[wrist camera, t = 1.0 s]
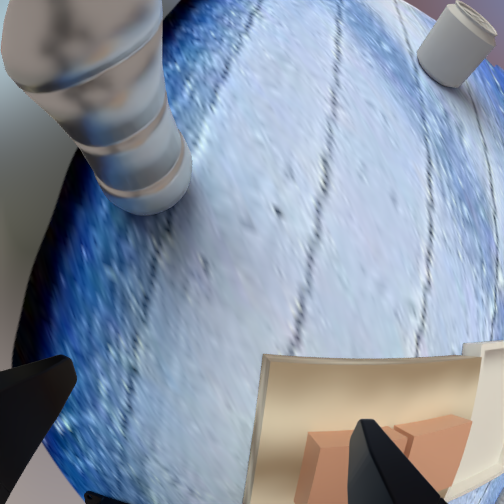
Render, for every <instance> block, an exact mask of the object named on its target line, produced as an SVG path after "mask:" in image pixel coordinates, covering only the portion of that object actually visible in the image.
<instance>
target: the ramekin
mask: <svg viewBox="0 0 504 504" xmlns="http://www.w3.org/2000/svg"><path fill="white" fill-rule="evenodd" d="M495 504H504V488H503V490H502V491H501V493H500V495H499V497H498V498H497V500H496V503H495Z"/></svg>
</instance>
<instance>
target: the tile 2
mask: <svg viewBox="0 0 504 504" xmlns="http://www.w3.org/2000/svg"><path fill="white" fill-rule="evenodd" d="M471 425H472V421H471V420H468V419H465V418H462V417H459V416H455V415H452V414H450V415H446V416H441V417H437V418H432V419H427V420H422V421H417V422H411V423H405V424H398V425H394V428H393V429H394V430H396V431H397V432H399V433H401V434H403V435H404V436H406V437H408V439H407V443H406V447H405V451H404V455H405V456H406V457H407V458H408V459H409V460H410V462H411V463H412V464H413V465H414V466H415V467H416V468H417V470H418V471H419V472H420V473H421V474H422V475H423V476H424V478H425V479H426V480H427V481H428V482H429V483H430V484H431V485H432V487H433V488H434V489H435V490H436V491H437V492H438V491H441V490H443V489H446V488H448V487H451V486H452V484H453V481H454V479H455V476H456V473H457V471H458V468H459V465H460V462H461V459H462V456H463V453H464V450H465V447H466V443H467V440H468V437H469V433H470V429H471Z"/></svg>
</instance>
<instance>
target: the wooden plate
mask: <svg viewBox="0 0 504 504" xmlns="http://www.w3.org/2000/svg"><path fill="white" fill-rule="evenodd" d="M481 360H482V357H474V356H461V355H449V356H435V357H418V358H387V359H349V358H317V357H298V356H284V355H271V354H263V357H262V366H261V374H260V382H259V390H258V398H257V405H256V413H255V420H254V428H253V435H252V442H251V450H250V457H249V464H248V471H247V477H246V484H245V491H244V497H243V504H295V503H294V497H295V493H296V488H297V484H298V480H299V475H300V470H301V466H302V461H303V456H304V451H305V446H306V440H307V435H308V432H320V431H342V430H354V429H355V427H356V424H357V422H358V421H359V420H360V419H374V420H375V421H376V422H377V423H378V425H379V426H380V427H384V426H389V427H390V428H392V429H393V428H394V425H398V424H405V423H411V422H417V421H422V420H427V419H432V418H437V417H441V416H446V415H450V414H452V415H455V416H459V417H462V418H465V419H468V420H471V416H472V412H473V407H474V402H475V397H476V392H477V387H478V381H479V374H480V367H481ZM448 488H449V487H448ZM448 488H446V489H443V490H441V491H438V493H439V494H440V498H441V497H442V498H443V499H444V498H445V495H446V493H447V491H448Z"/></svg>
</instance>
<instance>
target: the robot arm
mask: <svg viewBox="0 0 504 504" xmlns="http://www.w3.org/2000/svg"><path fill="white" fill-rule="evenodd" d="M76 382H77V375H76V372H75V369H74V365H73V362H72V360H71V359H70V358H69V357H67V356H64V355H57V356H53V357H50V358H47V359H43V360H40V361H36V362H33V363H29V364H26V365H22V366H19V367H15V368H11V369H8V370H4V371H0V504H5V503H6V501H7V499H8V497H9V495H10V493H11V491H12V490H13V488H14V486H15V484H16V483H17V481H18V479H19V478H20V476H21V474H22V473H23V471H24V469H25V467H26V466H27V464H28V463H29V461H30V459H31V458H32V456H33V454H34V453H35V451H36V450H37V448H38V446H39V445H40V443H41V442H42V440H43V439H44V437H45V436H46V434H47V432H48V431H49V429H50V428H51V426H52V425H53V423H54V422H55V420H56V419H57V417H58V416H59V414H60V412H61V410H62V408H63V406H64V405H65V403H66V401H67V399H68V397H69V395H70V393H71V391H72V390H73V388H74V386H75V384H76ZM347 494H348V504H448V503H447V502H446V501H445V500H444V499H443V498H442V497H441V498H440V494H439V493H438V492H437V491H436V490H435V489H434V488H433V487H432V485H431V484H430V483H429V482H428V481H427V480H426V479H425V478H424V476H423V475H422V474H421V473H420V472H419V471H418V470H417V468H416V467H415V466H414V465H413V464H412V463H411V462H410V460H409V459H408V458H407V457H406V456H405V455H404V454H403V452H402V451H401V450H400V449H399V448H398V447H397V445H396V444H395V443H394V442H393V441H392V440H391V439H390V437H389V436H388V435H387V434H386V433H385V432H384V430H383V429H382V428H381V427H380V426H379V425H378V423H377V422H376V421H375V420H374V419H360V420H359V421H358V422H357V424H356V427H355V429H354V431H353V433H352V435H351V437H350V442H349V464H348V481H347ZM90 496H91V497H90ZM84 498H85V503H86V504H128V503H124V502H121V501H118V500H114V499H111V498H108V497H105V496H102V495H99V494H96V493H94V492H91V491H87V492H86V493H85V494H84Z"/></svg>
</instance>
